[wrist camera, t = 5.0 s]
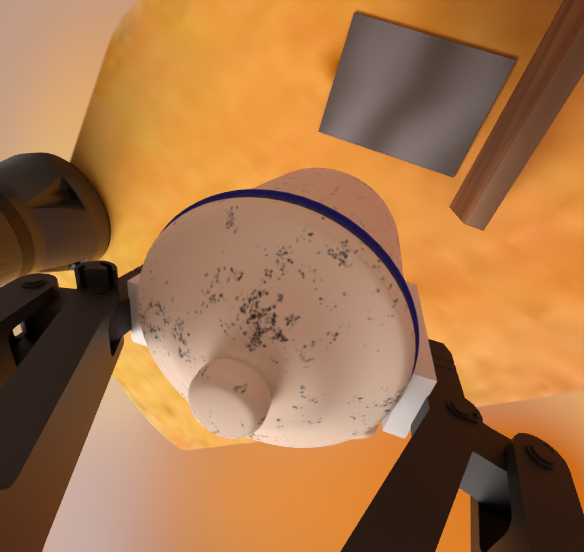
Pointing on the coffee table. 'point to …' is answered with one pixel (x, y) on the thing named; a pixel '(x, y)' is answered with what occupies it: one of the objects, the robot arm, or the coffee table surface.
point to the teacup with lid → (283, 310)
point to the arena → (452, 102)
